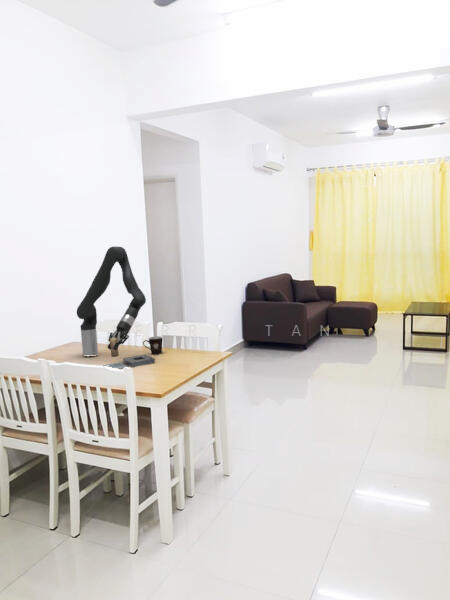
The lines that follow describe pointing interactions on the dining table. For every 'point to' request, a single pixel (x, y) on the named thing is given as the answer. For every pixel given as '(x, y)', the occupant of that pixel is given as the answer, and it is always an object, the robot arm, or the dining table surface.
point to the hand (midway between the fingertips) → (111, 348)
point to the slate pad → (116, 365)
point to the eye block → (138, 360)
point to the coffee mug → (155, 344)
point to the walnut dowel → (112, 342)
